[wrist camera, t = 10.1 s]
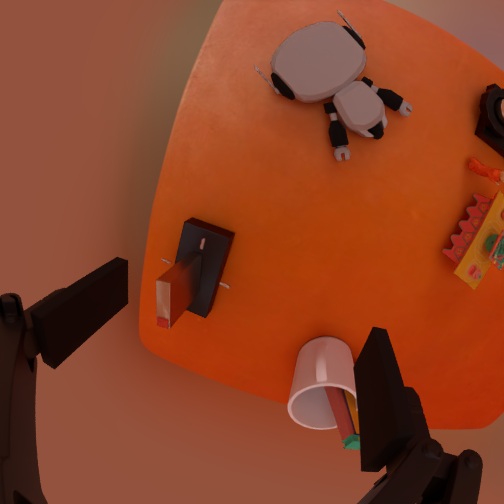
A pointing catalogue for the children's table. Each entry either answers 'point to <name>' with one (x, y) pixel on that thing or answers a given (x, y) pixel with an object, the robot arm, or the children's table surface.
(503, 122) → the lamp switch
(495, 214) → the building blocks
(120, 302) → the robot arm
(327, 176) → the children's table surface
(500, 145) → the lamp base
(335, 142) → the robot toy
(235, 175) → the children's table surface
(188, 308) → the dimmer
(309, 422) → the mug
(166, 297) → the small card box
